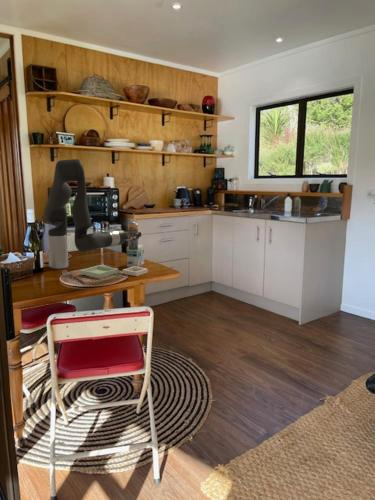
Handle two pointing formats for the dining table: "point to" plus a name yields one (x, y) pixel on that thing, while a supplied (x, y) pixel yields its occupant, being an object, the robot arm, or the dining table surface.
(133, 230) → the battery cell
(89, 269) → the sage tray
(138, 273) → the checker socket
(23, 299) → the dining table surface
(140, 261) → the light bulb box
